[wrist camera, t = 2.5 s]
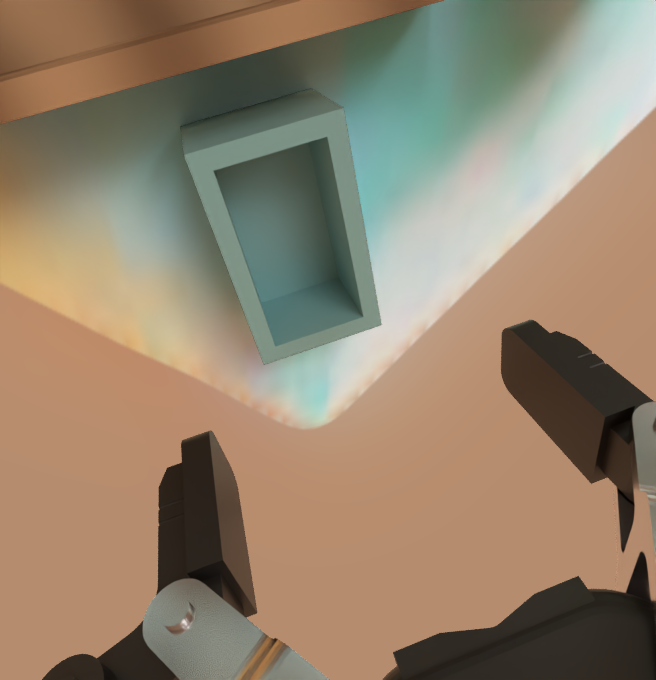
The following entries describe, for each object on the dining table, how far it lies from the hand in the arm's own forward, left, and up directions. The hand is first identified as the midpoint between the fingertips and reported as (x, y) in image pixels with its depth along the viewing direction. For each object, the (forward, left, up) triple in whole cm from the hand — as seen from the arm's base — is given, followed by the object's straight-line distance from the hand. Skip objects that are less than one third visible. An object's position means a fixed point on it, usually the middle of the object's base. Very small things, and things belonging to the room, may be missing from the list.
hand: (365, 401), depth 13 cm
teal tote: (0, 0, -15) cm, 15 cm away
